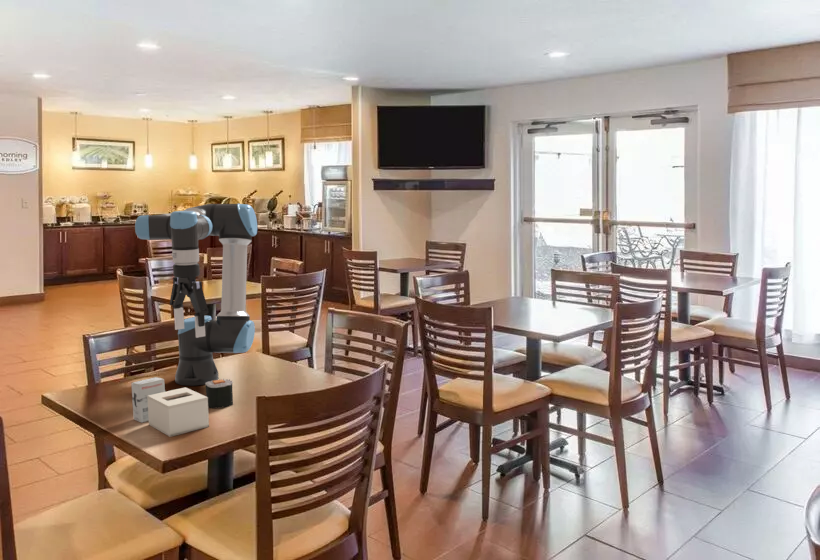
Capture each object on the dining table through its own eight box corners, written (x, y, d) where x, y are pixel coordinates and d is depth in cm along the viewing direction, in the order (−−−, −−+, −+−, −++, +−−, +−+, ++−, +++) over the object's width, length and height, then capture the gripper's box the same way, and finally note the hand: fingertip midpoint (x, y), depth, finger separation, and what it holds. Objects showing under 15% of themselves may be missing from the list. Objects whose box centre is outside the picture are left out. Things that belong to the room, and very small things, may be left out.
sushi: (236, 405, 224) (235, 381, 223) (210, 409, 219) (209, 385, 218) (228, 398, 231) (227, 375, 230) (203, 403, 226) (202, 379, 225)
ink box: (158, 412, 217) (156, 375, 215) (167, 415, 214) (165, 378, 212) (132, 419, 210) (130, 381, 209) (141, 423, 207) (138, 384, 206)
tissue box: (148, 424, 206) (147, 395, 204) (186, 415, 214) (185, 387, 213) (170, 436, 196) (168, 406, 195) (208, 426, 204) (207, 397, 203)
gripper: (155, 260, 212) (160, 327, 215) (193, 269, 194) (197, 342, 197) (179, 258, 217) (182, 324, 220) (218, 266, 199) (221, 337, 203)
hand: (189, 332), depth 209 cm, fingers open, 13 cm apart
